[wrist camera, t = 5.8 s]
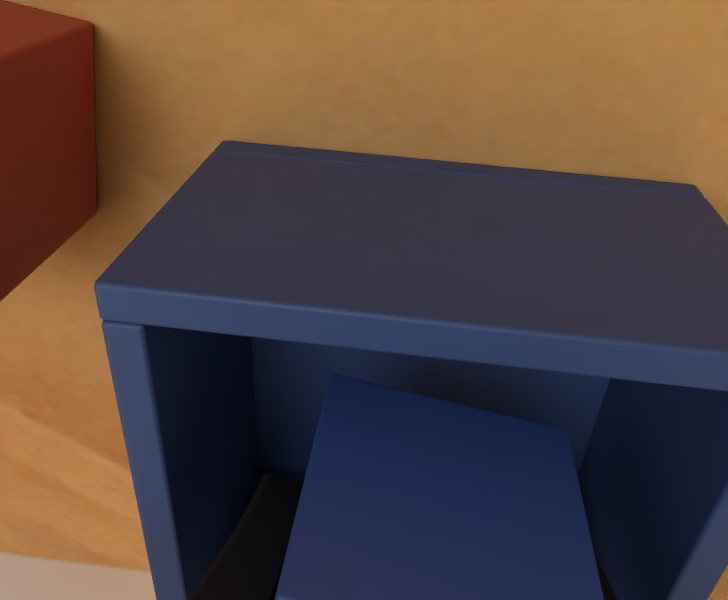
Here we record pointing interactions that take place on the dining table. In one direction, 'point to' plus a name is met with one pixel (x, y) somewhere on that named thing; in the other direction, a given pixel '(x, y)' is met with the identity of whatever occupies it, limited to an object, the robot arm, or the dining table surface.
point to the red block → (43, 136)
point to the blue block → (436, 505)
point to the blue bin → (426, 339)
